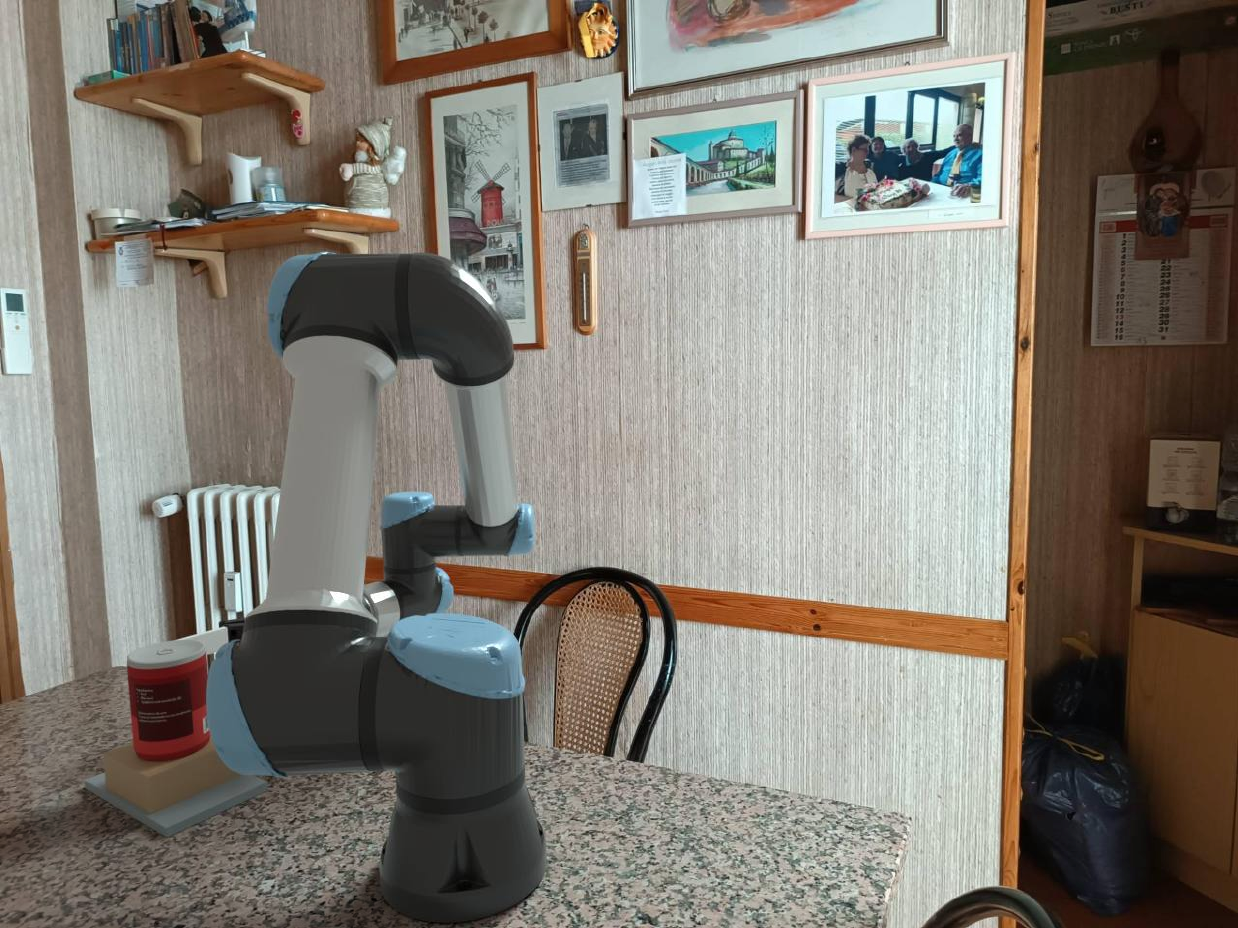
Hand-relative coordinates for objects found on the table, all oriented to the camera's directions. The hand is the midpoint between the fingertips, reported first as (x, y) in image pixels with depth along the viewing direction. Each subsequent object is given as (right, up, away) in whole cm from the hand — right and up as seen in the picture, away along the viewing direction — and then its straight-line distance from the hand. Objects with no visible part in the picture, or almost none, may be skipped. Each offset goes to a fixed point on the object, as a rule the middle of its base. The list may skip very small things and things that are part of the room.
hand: (205, 663), depth 92 cm
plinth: (-2, -14, -2) cm, 14 cm away
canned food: (-2, -9, -3) cm, 9 cm away
